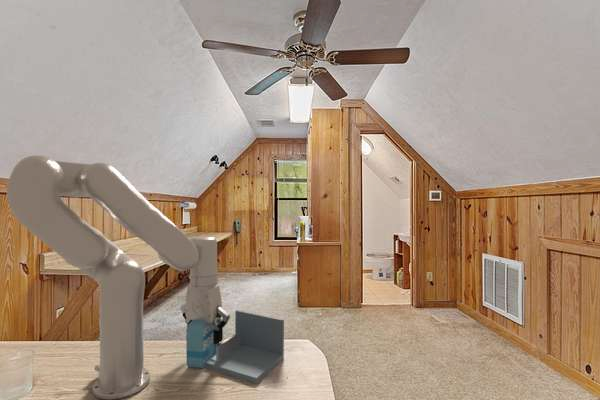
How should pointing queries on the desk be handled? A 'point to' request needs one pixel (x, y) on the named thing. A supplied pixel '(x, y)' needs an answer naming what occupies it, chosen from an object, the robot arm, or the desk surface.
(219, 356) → the bookend
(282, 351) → the l-shaped stand
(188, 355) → the data package
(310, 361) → the desk surface
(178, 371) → the desk surface
